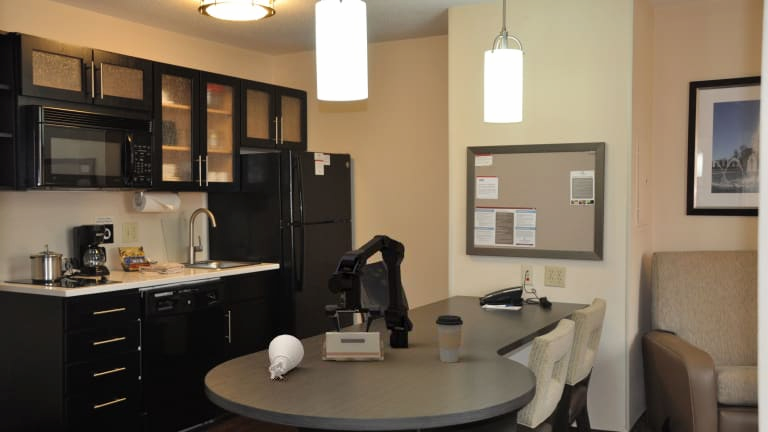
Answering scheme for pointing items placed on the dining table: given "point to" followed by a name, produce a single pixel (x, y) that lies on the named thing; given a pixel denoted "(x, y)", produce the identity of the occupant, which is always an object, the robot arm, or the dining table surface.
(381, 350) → the tray
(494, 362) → the dining table surface
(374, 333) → the panel
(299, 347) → the rocket engine
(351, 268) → the robot arm
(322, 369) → the dining table surface
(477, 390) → the dining table surface
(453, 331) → the coffee cup
